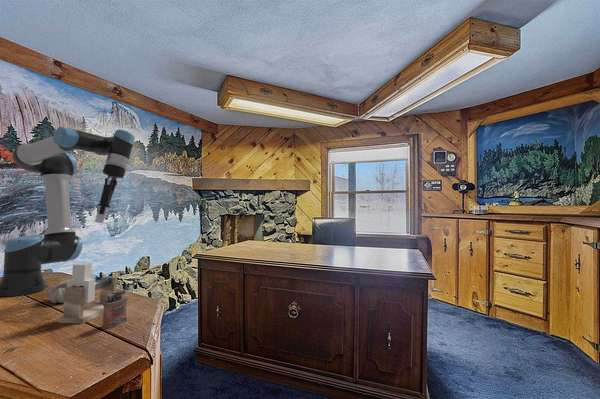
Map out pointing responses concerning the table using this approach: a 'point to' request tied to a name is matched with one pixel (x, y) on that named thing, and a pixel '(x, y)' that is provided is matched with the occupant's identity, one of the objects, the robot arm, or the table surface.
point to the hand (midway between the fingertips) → (98, 222)
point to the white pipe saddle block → (83, 280)
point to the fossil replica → (57, 292)
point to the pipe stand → (75, 301)
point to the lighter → (114, 310)
